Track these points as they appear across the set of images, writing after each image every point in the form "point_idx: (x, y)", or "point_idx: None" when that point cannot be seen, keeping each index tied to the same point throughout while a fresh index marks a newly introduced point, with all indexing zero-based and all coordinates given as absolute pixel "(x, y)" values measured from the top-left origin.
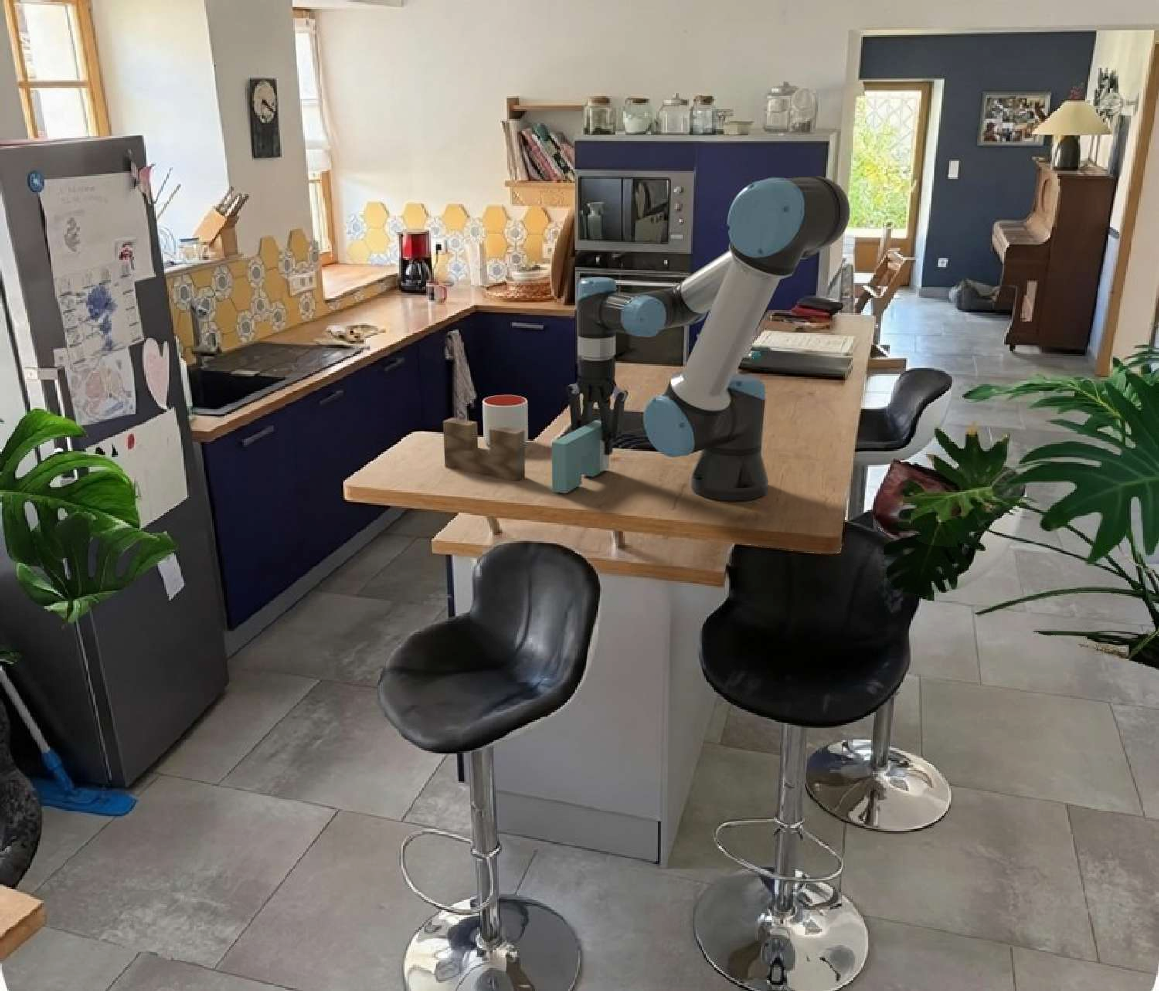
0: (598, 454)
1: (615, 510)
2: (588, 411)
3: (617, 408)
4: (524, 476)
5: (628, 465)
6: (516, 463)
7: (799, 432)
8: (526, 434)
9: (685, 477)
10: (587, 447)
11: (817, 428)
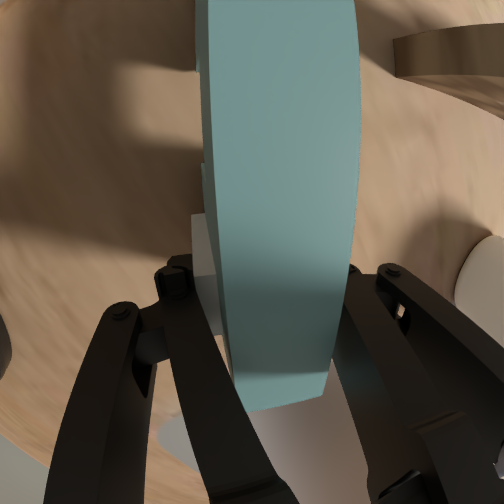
0: (208, 227)
1: (19, 9)
2: (382, 400)
3: (58, 500)
4: (397, 75)
5: None
6: (430, 31)
7: None
8: (465, 299)
9: (30, 329)
10: (203, 107)
11: None
